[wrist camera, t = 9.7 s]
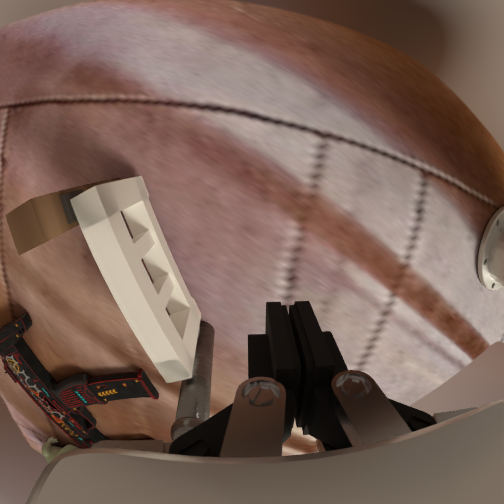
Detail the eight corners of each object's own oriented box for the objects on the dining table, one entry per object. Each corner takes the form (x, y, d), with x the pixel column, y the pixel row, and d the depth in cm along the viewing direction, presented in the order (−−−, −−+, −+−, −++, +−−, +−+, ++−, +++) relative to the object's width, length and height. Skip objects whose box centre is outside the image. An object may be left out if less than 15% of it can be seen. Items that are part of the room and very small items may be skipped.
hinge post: (211, 317, 28) (201, 436, 14) (219, 338, 29) (217, 457, 15) (185, 323, 28) (160, 440, 14) (195, 344, 29) (179, 460, 15)
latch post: (122, 176, 23) (35, 196, 11) (129, 200, 24) (49, 240, 11) (97, 187, 23) (5, 215, 11) (105, 210, 24) (19, 255, 12)
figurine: (121, 469, 39) (112, 507, 29) (64, 459, 38) (52, 491, 29) (95, 443, 35) (81, 485, 26) (38, 432, 35) (22, 465, 26)
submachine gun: (225, 467, 34) (111, 481, 35) (224, 449, 38) (114, 467, 38) (72, 290, 24) (-23, 346, 24) (86, 276, 27) (-11, 334, 27)
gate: (141, 175, 22) (95, 185, 14) (204, 320, 27) (195, 384, 18) (122, 184, 22) (69, 200, 14) (185, 325, 27) (171, 389, 18)
